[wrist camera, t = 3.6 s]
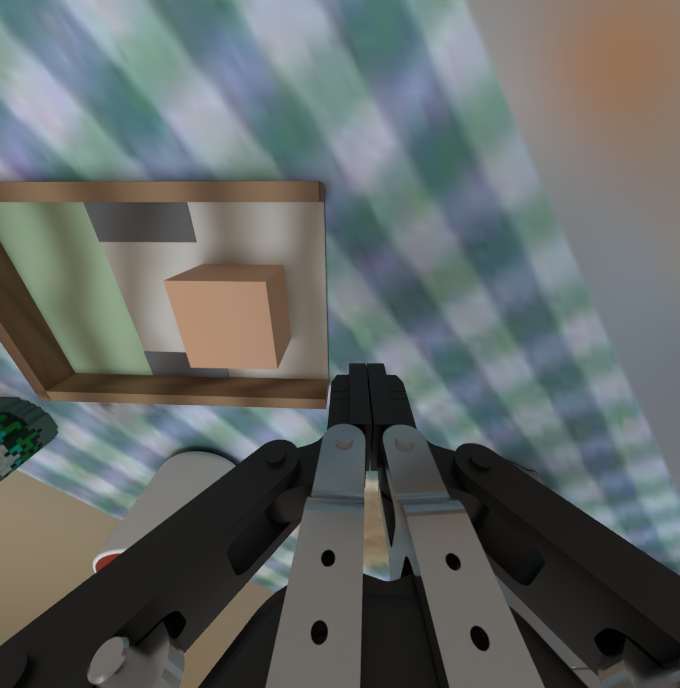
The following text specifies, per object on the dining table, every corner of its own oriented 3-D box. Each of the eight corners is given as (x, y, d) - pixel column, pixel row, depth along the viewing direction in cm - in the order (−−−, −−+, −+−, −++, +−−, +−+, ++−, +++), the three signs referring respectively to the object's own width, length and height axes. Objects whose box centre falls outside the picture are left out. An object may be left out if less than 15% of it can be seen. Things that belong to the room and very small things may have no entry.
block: (283, 264, 19) (265, 281, 15) (291, 339, 22) (277, 369, 18) (202, 264, 19) (163, 280, 15) (219, 337, 22) (190, 367, 18)
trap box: (323, 183, 17) (318, 180, 14) (328, 386, 25) (325, 409, 22) (-41, 185, 18) (-109, 182, 15) (73, 379, 25) (40, 400, 23)
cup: (159, 438, 29) (75, 543, 20) (251, 452, 29) (208, 560, 21) (172, 493, 34) (108, 597, 25) (250, 504, 34) (215, 610, 25)
